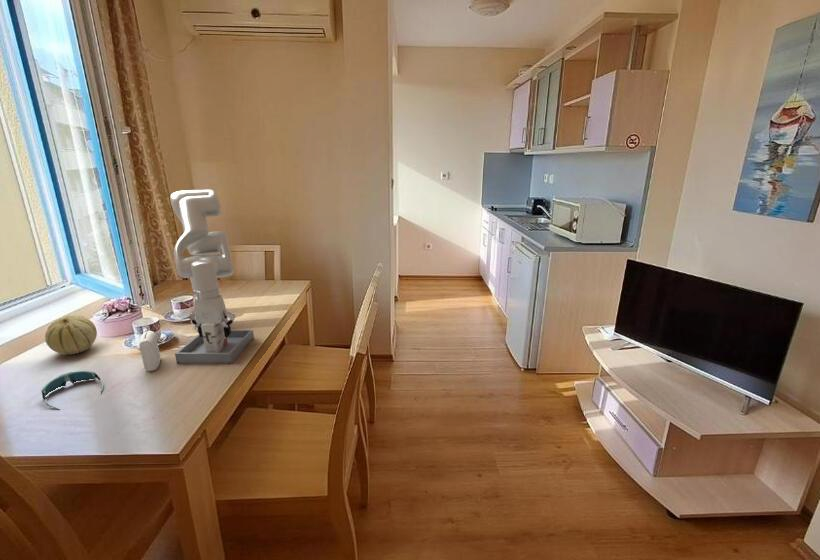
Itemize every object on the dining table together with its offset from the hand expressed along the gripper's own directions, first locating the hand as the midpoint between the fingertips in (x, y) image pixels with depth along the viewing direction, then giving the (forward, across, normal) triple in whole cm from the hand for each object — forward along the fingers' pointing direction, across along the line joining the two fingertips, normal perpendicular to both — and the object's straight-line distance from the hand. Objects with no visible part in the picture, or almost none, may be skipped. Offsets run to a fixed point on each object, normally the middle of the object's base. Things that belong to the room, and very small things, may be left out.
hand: (215, 335), depth 146 cm
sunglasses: (+7, -31, -29) cm, 43 cm away
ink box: (+6, 0, 0) cm, 6 cm away
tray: (+6, 0, 0) cm, 6 cm away
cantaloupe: (+6, -54, -2) cm, 54 cm away
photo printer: (+7, -18, -11) cm, 22 cm away
